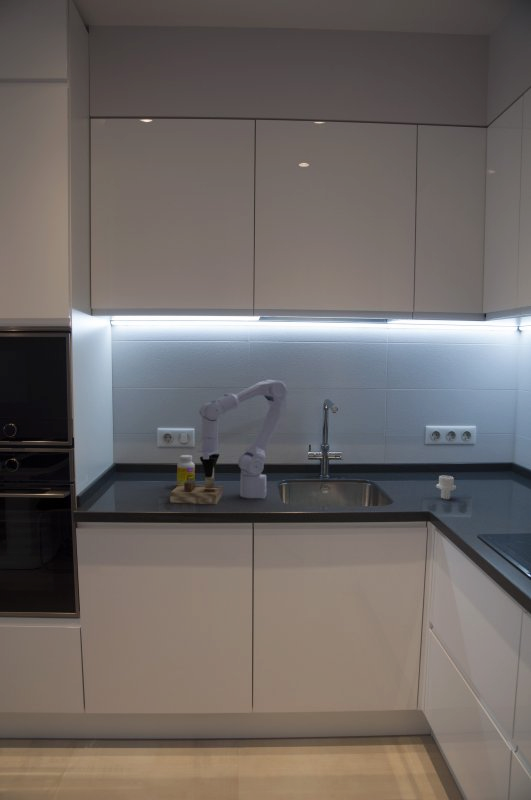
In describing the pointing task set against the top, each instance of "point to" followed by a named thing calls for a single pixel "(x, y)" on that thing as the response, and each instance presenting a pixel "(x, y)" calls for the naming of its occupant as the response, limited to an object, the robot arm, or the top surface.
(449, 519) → the top surface
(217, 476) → the top surface
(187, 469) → the supplement bottle
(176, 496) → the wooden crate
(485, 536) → the top surface
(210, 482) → the pin
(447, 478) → the pipe fitting
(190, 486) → the lid
